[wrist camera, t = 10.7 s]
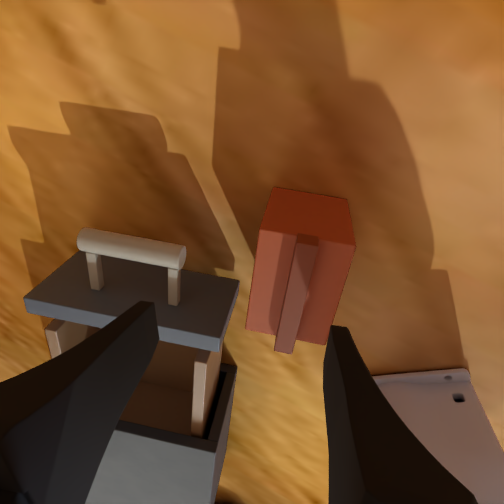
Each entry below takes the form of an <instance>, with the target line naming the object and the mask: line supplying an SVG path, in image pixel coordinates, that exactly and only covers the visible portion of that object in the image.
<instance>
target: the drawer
mask: <svg viewBox="0 0 504 504" xmlns="http://www.w3.org/2000/svg"><path fill="white" fill-rule="evenodd" d="M77 247H78V249H79V251H78V252H77V253H76V254H75V255H73V256H72V257H71V258H70V259H69V260H67V261H66V262H65V263H64V264H63V265H61V266H60V267H59V268H58V269H57V270H55V271H54V272H53V273H52V274H51V275H49V276H48V277H47V278H46V279H45V280H43V281H42V282H41V283H40V284H39V285H37V286H36V287H35V288H34V289H33V290H31V291H30V292H29V293H28V294H27V295H25V296H24V297H23V299H24V302H25V306H26V310H27V312H28V313H32V314H37V315H42V316H46V317H51V318H55V319H54V320H53V321H52V322H51V323H50V324H49V325H48V326H47V327H46V328H45V333H46V337H47V341H48V345H49V349H50V353H51V357H52V359H53V358H55V357H56V356H58V355H60V354H62V353H64V352H66V351H67V350H69V349H71V348H72V347H74V346H76V345H77V344H79V343H80V342H82V341H83V340H85V339H86V338H88V337H90V336H91V335H93V334H94V333H96V332H97V331H99V330H100V329H102V328H103V327H104V326H106V325H107V324H109V323H110V322H111V321H113V320H114V319H116V318H117V317H118V316H120V315H121V314H122V313H124V312H125V311H126V310H128V309H129V308H131V307H132V306H133V305H135V304H136V303H138V302H139V301H148V302H154V304H155V311H156V318H157V325H158V332H159V342H158V344H157V347H156V349H155V352H154V354H153V357H152V359H151V361H150V363H149V365H148V367H147V369H146V371H145V373H144V374H143V376H142V378H141V380H140V382H139V383H138V385H137V387H136V389H135V390H134V392H133V394H132V396H131V398H130V399H129V401H128V403H127V405H126V407H125V408H124V410H123V412H122V414H121V416H120V418H119V420H123V421H127V422H132V423H136V424H140V425H145V426H149V427H153V428H158V429H162V430H166V431H171V432H175V433H179V434H184V435H188V436H192V437H197V438H201V439H205V437H206V433H207V430H208V426H209V423H210V419H211V416H212V413H213V409H214V406H215V402H216V399H217V394H218V384H219V374H220V364H221V355H222V345H223V338H224V335H225V332H226V329H227V326H228V323H229V320H230V317H231V314H232V311H233V308H234V305H235V301H236V298H237V295H238V291H239V282H240V281H239V280H235V279H230V278H225V277H219V276H214V275H209V274H204V273H199V272H193V271H188V270H183V269H182V267H183V265H184V263H185V259H186V247H185V246H184V245H179V244H174V243H168V242H163V241H158V240H152V239H147V238H142V237H136V236H131V235H125V234H120V233H115V232H109V231H104V230H99V229H93V228H88V227H85V228H82V229H81V230H80V232H79V234H78V236H77Z"/></svg>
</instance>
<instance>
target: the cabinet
mask: <svg viewBox="0 0 504 504" xmlns="http://www.w3.org/2000/svg"><path fill="white" fill-rule="evenodd" d="M236 374H237V367H236V366H232V365H227V364H222V363H221V364H220V374H219V384H218V394H217V399H216V402H215V406H214V409H213V413H212V416H211V419H210V423H209V426H208V430H207V433H206V437H205V439H201V438H197V437H192V436H188V435H184V434H179V433H175V432H171V431H166V430H162V429H158V428H153V427H149V426H145V425H140V424H136V423H132V422H127V421H123V420H118V423H117V425H116V427H115V429H114V432H113V434H112V436H111V439H110V441H109V443H108V446H107V448H106V451H105V453H104V455H103V458H102V460H101V463H100V465H99V468H98V470H97V473H96V476H95V478H94V481H93V484H92V486H91V489H90V491H89V494H88V497H87V500H86V502H85V504H214V502H215V497H216V493H217V488H218V484H219V480H220V475H221V471H222V466H223V462H224V458H225V453H226V446H227V438H228V431H229V424H230V417H231V410H232V403H233V395H234V388H235V381H236Z"/></svg>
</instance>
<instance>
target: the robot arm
mask: <svg viewBox="0 0 504 504" xmlns="http://www.w3.org/2000/svg"><path fill="white" fill-rule="evenodd" d="M158 342H159V332H158V325H157V318H156V311H155V304H154V302H148V301H139V302H138V303H136V304H135V305H133V306H132V307H131V308H129V309H128V310H126V311H125V312H124V313H122V314H121V315H120V316H118V317H117V318H116V319H114V320H113V321H111V322H110V323H109V324H107V325H106V326H104V327H103V328H102V329H100V330H99V331H97V332H96V333H94V334H93V335H91V336H90V337H88V338H86V339H85V340H83V341H82V342H80V343H79V344H77V345H76V346H74V347H72V348H71V349H69V350H67V351H66V352H64V353H62V354H60V355H58V356H56V357H55V358H53V359H51V360H49V361H47V362H45V363H43V364H41V365H39V366H37V367H35V368H32V369H30V370H28V371H26V372H24V373H22V374H20V375H17V376H15V377H13V378H10V379H8V380H5V381H3V382H0V504H85V502H86V500H87V497H88V494H89V491H90V489H91V486H92V484H93V481H94V478H95V476H96V473H97V470H98V468H99V465H100V463H101V460H102V458H103V455H104V453H105V451H106V448H107V446H108V443H109V441H110V439H111V436H112V434H113V432H114V429H115V427H116V425H117V423H118V420H119V418H120V416H121V414H122V412H123V410H124V408H125V407H126V405H127V403H128V401H129V399H130V398H131V396H132V394H133V392H134V390H135V389H136V387H137V385H138V383H139V382H140V380H141V378H142V376H143V374H144V373H145V371H146V369H147V367H148V365H149V363H150V361H151V359H152V357H153V354H154V352H155V349H156V347H157V344H158ZM323 392H324V403H325V414H326V425H327V436H328V449H329V504H504V452H503V450H502V448H501V446H500V444H499V441H498V439H497V437H496V435H495V433H494V431H493V429H492V426H491V424H490V422H489V420H488V418H487V416H486V414H485V411H484V409H483V407H482V405H481V403H480V401H479V399H478V396H477V394H476V392H475V390H474V388H473V386H472V384H471V381H470V374H469V372H468V370H467V369H464V368H459V369H448V370H437V371H425V372H414V373H403V374H392V375H381V376H371V374H370V372H369V370H368V368H367V367H366V365H365V363H364V361H363V359H362V357H361V356H360V354H359V352H358V349H357V347H356V345H355V343H354V341H353V339H352V336H351V334H350V331H349V329H348V328H347V327H342V326H335V325H330V331H329V336H328V341H327V347H326V352H325V357H324V366H323Z"/></svg>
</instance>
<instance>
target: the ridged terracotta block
mask: <svg viewBox="0 0 504 504" xmlns="http://www.w3.org/2000/svg"><path fill="white" fill-rule="evenodd" d="M355 249H356V242H355V237H354V232H353V227H352V222H351V217H350V212H349V207H348V202H347V200H346V199H341V198H335V197H329V196H323V195H318V194H312V193H306V192H300V191H294V190H288V189H282V188H276V187H273V189H272V192H271V195H270V198H269V201H268V204H267V207H266V210H265V213H264V216H263V219H262V223H261V226H260V229H259V235H258V242H257V249H256V256H255V263H254V270H253V277H252V284H251V291H250V298H249V305H248V312H247V319H246V326H245V329H246V330H251V331H256V332H261V333H266V334H271V335H276V339H275V346H274V351H278V352H283V353H287V354H292V352H293V348H294V344H295V340H300V341H305V342H310V343H315V344H320V345H326V342H327V339H328V336H329V331H330V325H332V323H333V320H334V316H335V313H336V310H337V307H338V304H339V300H340V297H341V294H342V291H343V288H344V284H345V281H346V278H347V275H348V272H349V268H350V265H351V262H352V259H353V256H354V252H355Z"/></svg>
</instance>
